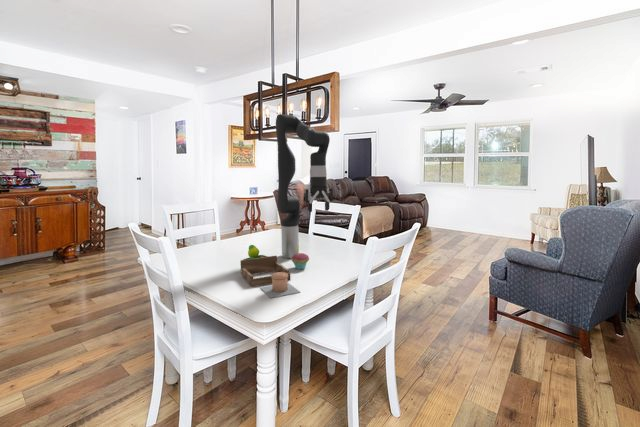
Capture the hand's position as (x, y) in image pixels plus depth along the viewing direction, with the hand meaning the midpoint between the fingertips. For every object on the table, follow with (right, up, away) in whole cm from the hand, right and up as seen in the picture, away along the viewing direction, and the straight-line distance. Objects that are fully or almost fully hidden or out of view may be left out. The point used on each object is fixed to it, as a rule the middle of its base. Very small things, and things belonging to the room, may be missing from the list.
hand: (318, 211), depth 155 cm
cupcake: (-9, -28, +8) cm, 30 cm away
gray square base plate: (-15, -32, -22) cm, 41 cm away
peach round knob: (-15, -31, -22) cm, 41 cm away
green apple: (-30, -28, +8) cm, 42 cm away
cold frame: (-24, -29, -7) cm, 38 cm away
